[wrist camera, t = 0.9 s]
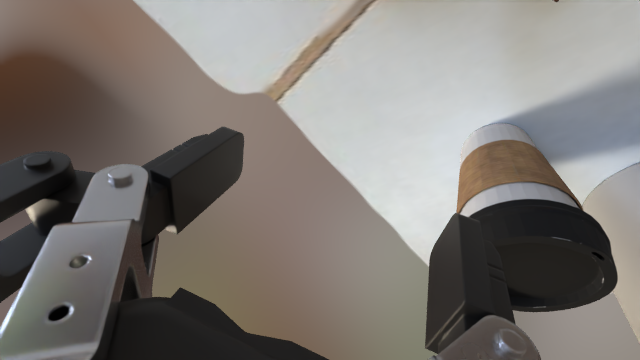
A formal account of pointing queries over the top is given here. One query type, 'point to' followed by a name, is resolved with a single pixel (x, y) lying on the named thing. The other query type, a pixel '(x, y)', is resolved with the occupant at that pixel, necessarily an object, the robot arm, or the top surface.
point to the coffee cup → (533, 223)
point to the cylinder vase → (621, 234)
